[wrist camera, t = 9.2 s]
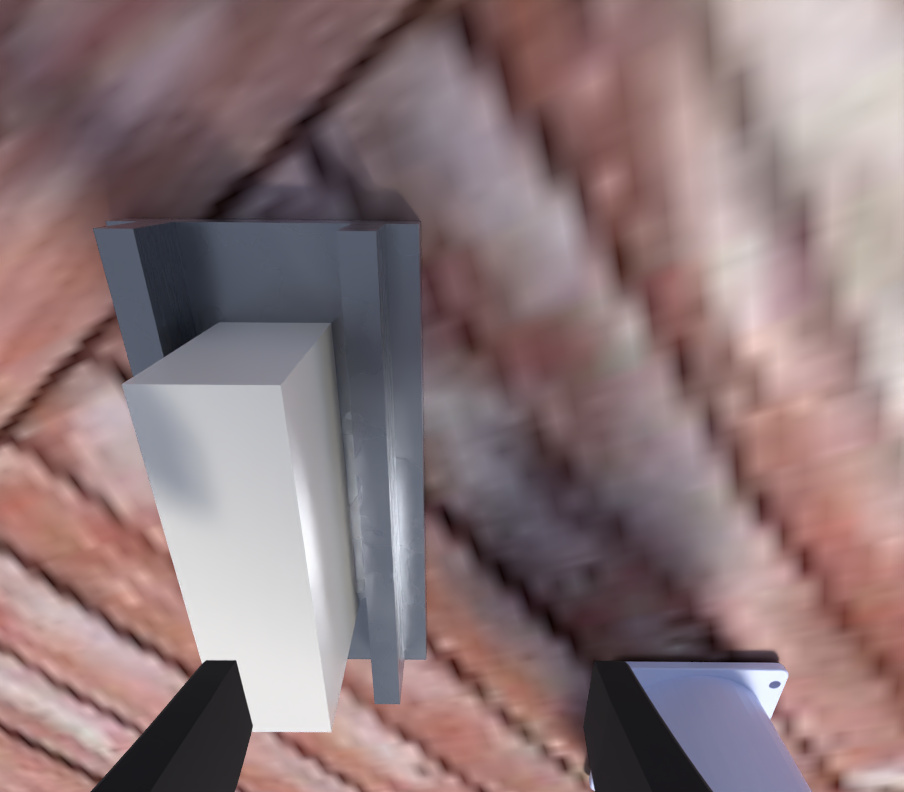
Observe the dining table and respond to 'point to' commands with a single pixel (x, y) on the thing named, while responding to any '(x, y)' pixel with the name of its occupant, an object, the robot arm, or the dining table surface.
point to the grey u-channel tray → (356, 361)
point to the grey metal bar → (256, 509)
